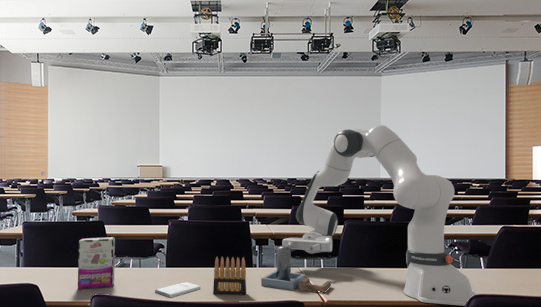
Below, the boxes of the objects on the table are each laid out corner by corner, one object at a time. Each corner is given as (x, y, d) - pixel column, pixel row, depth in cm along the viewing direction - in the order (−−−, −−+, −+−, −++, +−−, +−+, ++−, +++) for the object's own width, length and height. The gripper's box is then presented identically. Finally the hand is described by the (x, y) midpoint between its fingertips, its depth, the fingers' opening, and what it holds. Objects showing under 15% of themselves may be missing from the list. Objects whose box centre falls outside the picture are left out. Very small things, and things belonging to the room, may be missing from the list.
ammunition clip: (246, 293, 125) (246, 256, 126) (245, 295, 123) (245, 257, 124) (214, 292, 126) (214, 255, 126) (212, 294, 124) (213, 257, 125)
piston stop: (292, 280, 138) (292, 246, 139) (287, 283, 134) (287, 249, 134) (280, 278, 140) (280, 245, 141) (274, 281, 136) (274, 247, 136)
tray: (305, 281, 140) (305, 274, 140) (293, 290, 129) (293, 282, 129) (275, 277, 145) (275, 270, 145) (261, 285, 134) (261, 278, 134)
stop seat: (330, 287, 133) (330, 281, 133) (324, 293, 126) (324, 287, 126) (306, 283, 136) (306, 278, 136) (298, 289, 130) (298, 283, 130)
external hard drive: (154, 294, 125) (185, 285, 135) (170, 299, 120) (200, 290, 130) (154, 289, 126) (185, 281, 135) (170, 294, 120) (200, 285, 130)
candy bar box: (114, 283, 136) (115, 236, 137) (112, 287, 131) (113, 238, 132) (80, 285, 133) (81, 237, 134) (76, 289, 128) (78, 240, 129)
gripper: (289, 233, 165) (276, 237, 153) (335, 235, 157) (325, 240, 144) (289, 248, 165) (276, 253, 152) (335, 251, 156) (325, 257, 144)
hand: (300, 247), depth 148 cm, fingers open, 8 cm apart
